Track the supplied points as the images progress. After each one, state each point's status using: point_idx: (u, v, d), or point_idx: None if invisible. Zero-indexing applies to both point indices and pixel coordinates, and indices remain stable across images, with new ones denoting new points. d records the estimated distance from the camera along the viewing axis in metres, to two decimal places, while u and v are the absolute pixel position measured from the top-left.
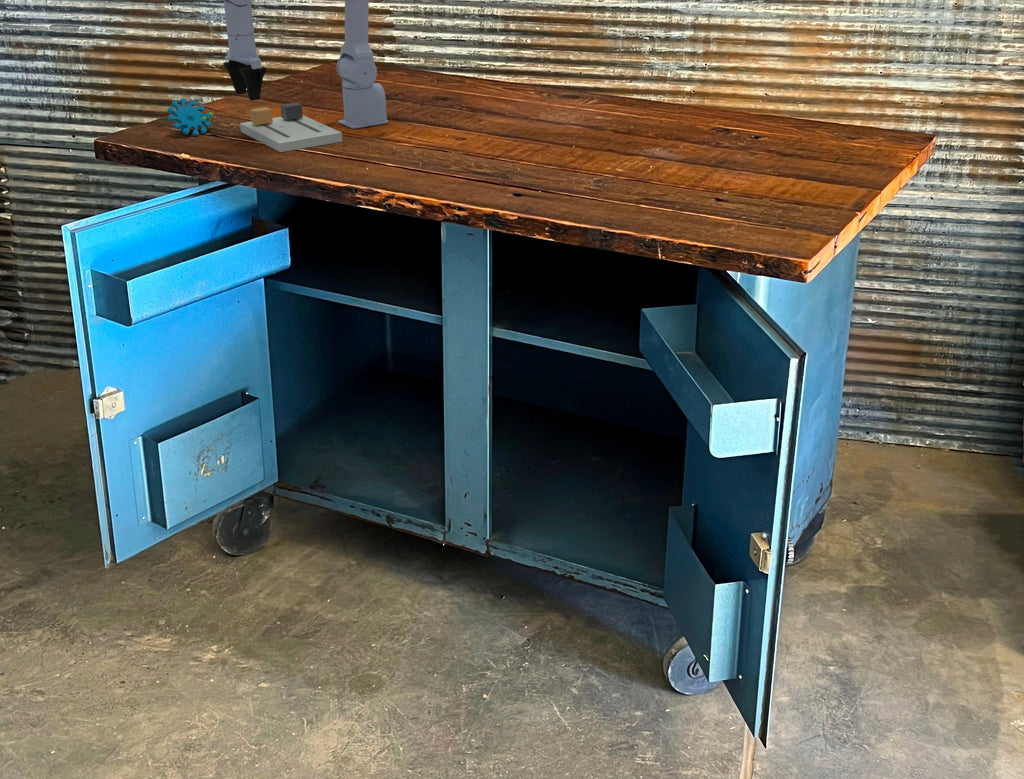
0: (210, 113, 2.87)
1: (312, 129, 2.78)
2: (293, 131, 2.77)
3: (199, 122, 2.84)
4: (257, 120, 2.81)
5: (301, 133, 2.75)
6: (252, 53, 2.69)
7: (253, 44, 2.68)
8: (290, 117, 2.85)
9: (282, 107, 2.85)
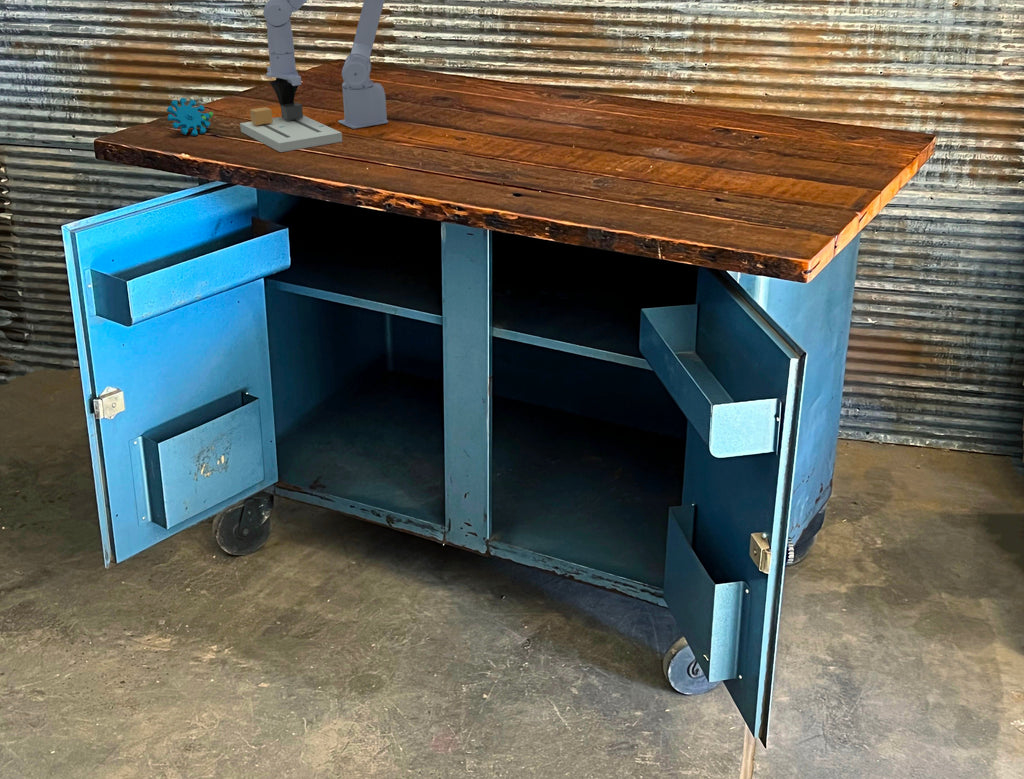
0: (210, 113, 2.87)
1: (312, 129, 2.78)
2: (293, 131, 2.77)
3: (199, 122, 2.84)
4: (257, 120, 2.81)
5: (301, 133, 2.75)
6: (292, 71, 2.83)
7: (293, 62, 2.83)
8: (290, 117, 2.85)
9: (282, 107, 2.85)
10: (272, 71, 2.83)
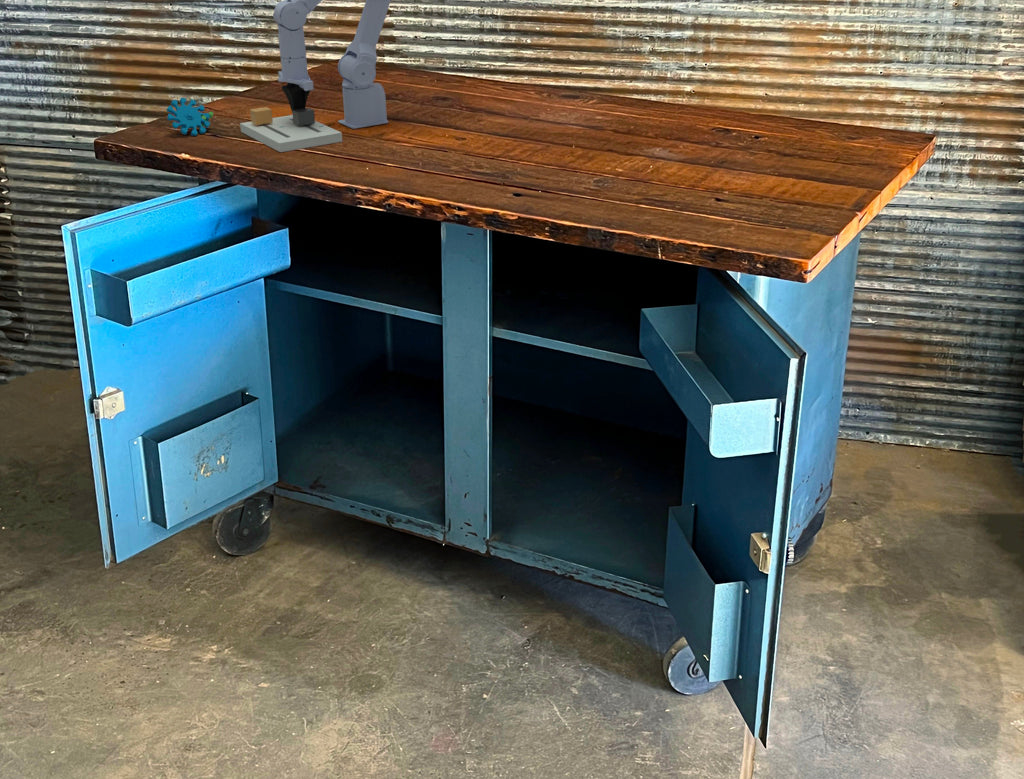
0: (210, 113, 2.87)
1: (312, 129, 2.78)
2: (293, 131, 2.77)
3: (199, 122, 2.84)
4: (257, 120, 2.81)
5: (301, 133, 2.75)
6: (304, 75, 2.78)
7: (305, 66, 2.78)
8: (302, 123, 2.80)
9: (294, 112, 2.80)
10: (284, 76, 2.78)
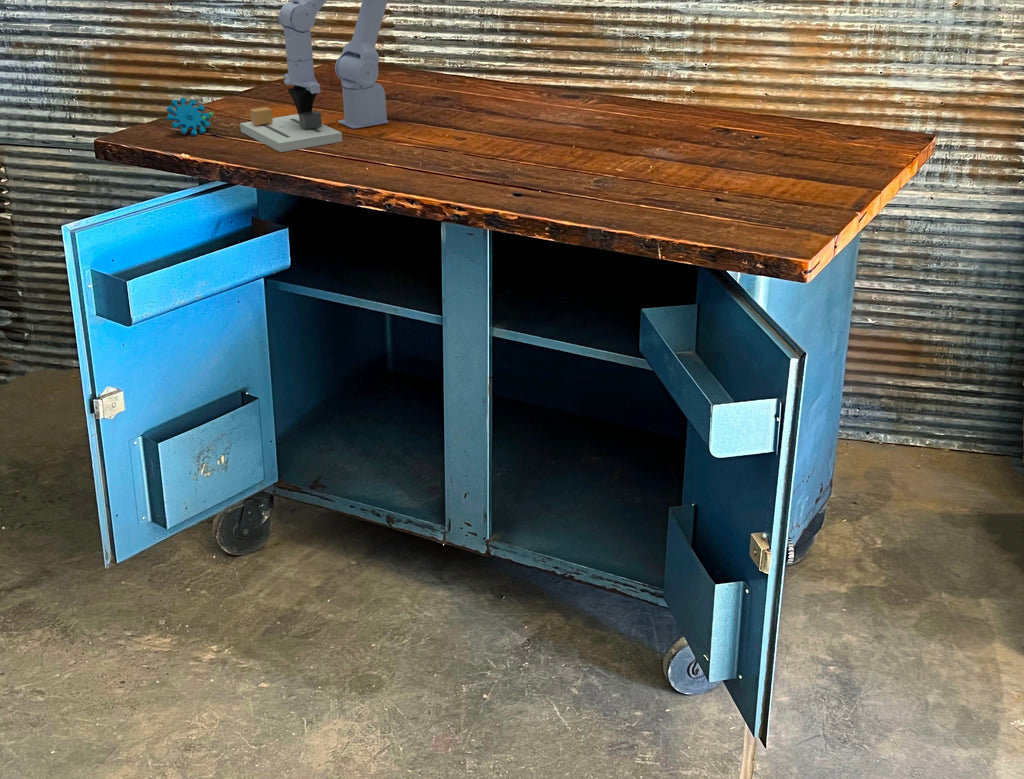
0: (210, 113, 2.87)
1: (312, 129, 2.78)
2: (293, 131, 2.77)
3: (198, 122, 2.84)
4: (257, 120, 2.81)
5: (301, 133, 2.75)
6: (311, 78, 2.75)
7: (312, 69, 2.75)
8: (309, 126, 2.77)
9: (301, 115, 2.77)
10: (290, 78, 2.75)
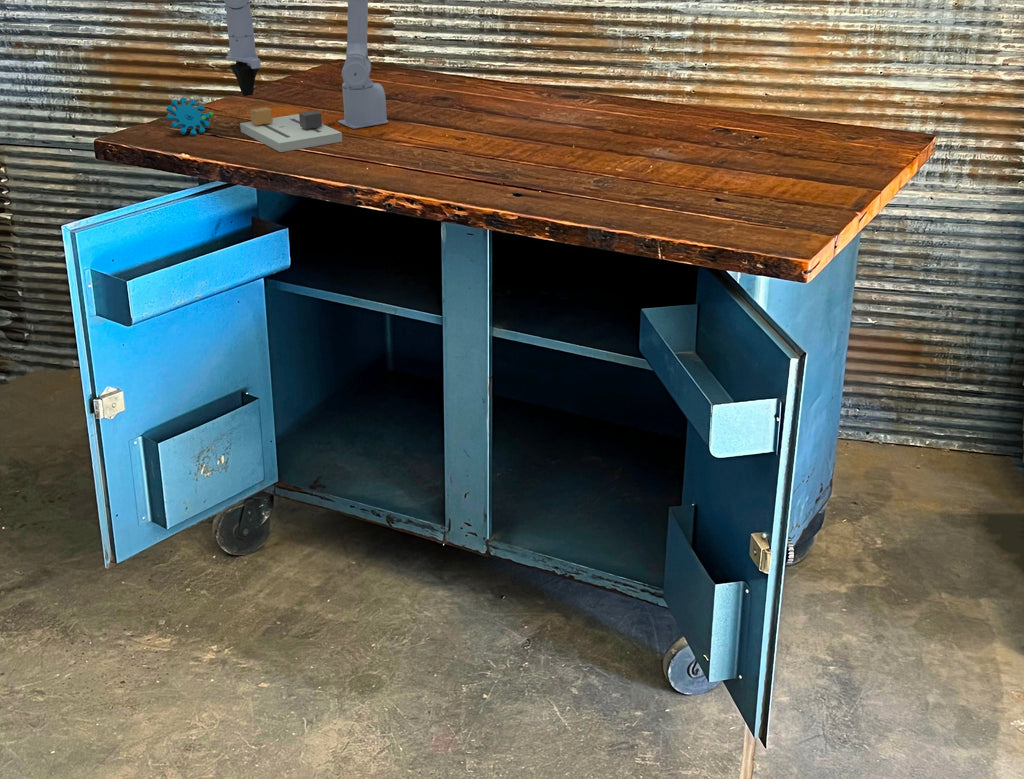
0: (210, 113, 2.87)
1: (312, 129, 2.78)
2: (293, 131, 2.77)
3: (198, 122, 2.84)
4: (257, 120, 2.81)
5: (301, 133, 2.75)
6: (252, 54, 2.81)
7: (253, 45, 2.80)
8: (309, 126, 2.77)
9: (301, 116, 2.77)
10: (231, 54, 2.80)
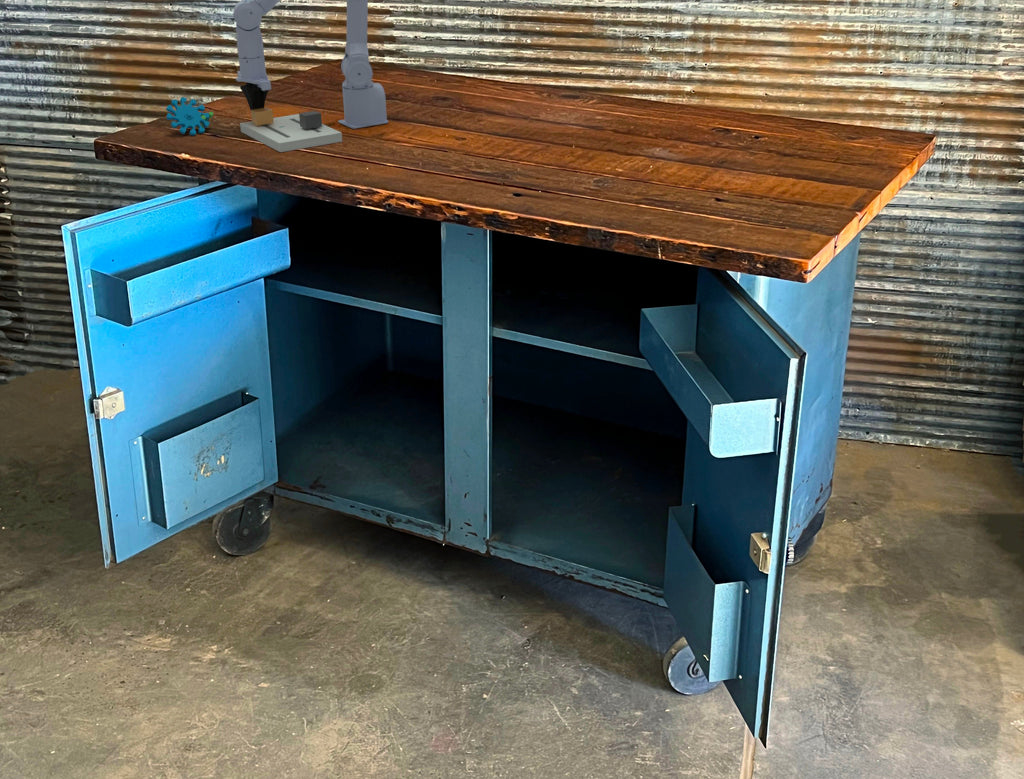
0: (210, 113, 2.87)
1: (312, 129, 2.78)
2: (293, 131, 2.77)
3: (198, 122, 2.84)
4: (258, 120, 2.80)
5: (301, 133, 2.75)
6: (262, 75, 2.79)
7: (263, 66, 2.79)
8: (309, 126, 2.77)
9: (301, 116, 2.77)
10: (242, 75, 2.79)
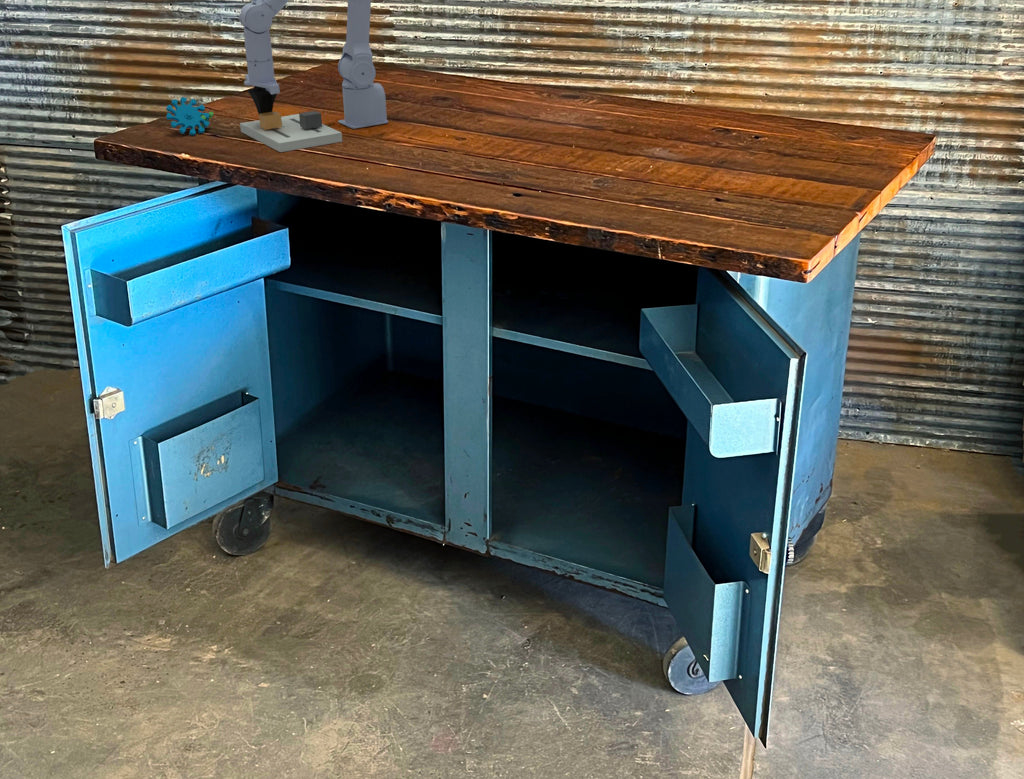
0: (210, 113, 2.87)
1: (312, 129, 2.78)
2: (293, 131, 2.77)
3: (198, 122, 2.84)
4: (266, 125, 2.77)
5: (301, 133, 2.75)
6: (271, 79, 2.75)
7: (271, 70, 2.75)
8: (309, 126, 2.77)
9: (301, 116, 2.77)
10: (250, 79, 2.75)
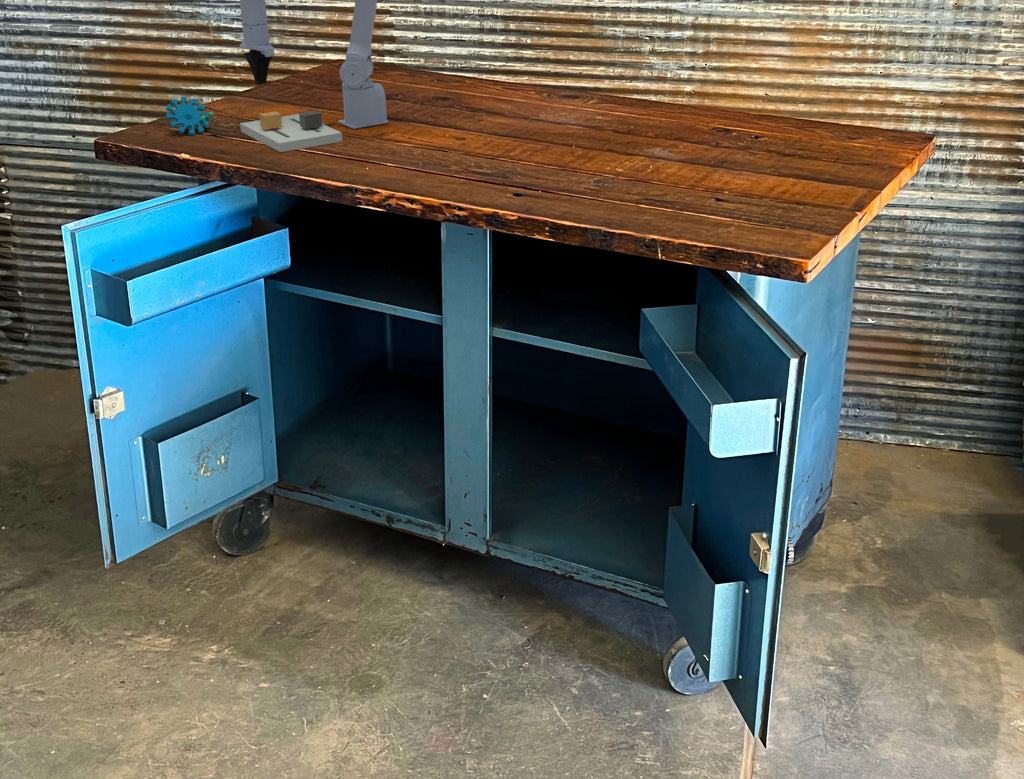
0: (210, 112, 2.87)
1: (312, 129, 2.78)
2: (293, 131, 2.77)
3: (197, 121, 2.85)
4: (266, 125, 2.77)
5: (301, 133, 2.75)
6: (266, 42, 2.83)
7: (266, 33, 2.82)
8: (309, 126, 2.77)
9: (301, 116, 2.77)
10: (245, 42, 2.82)
